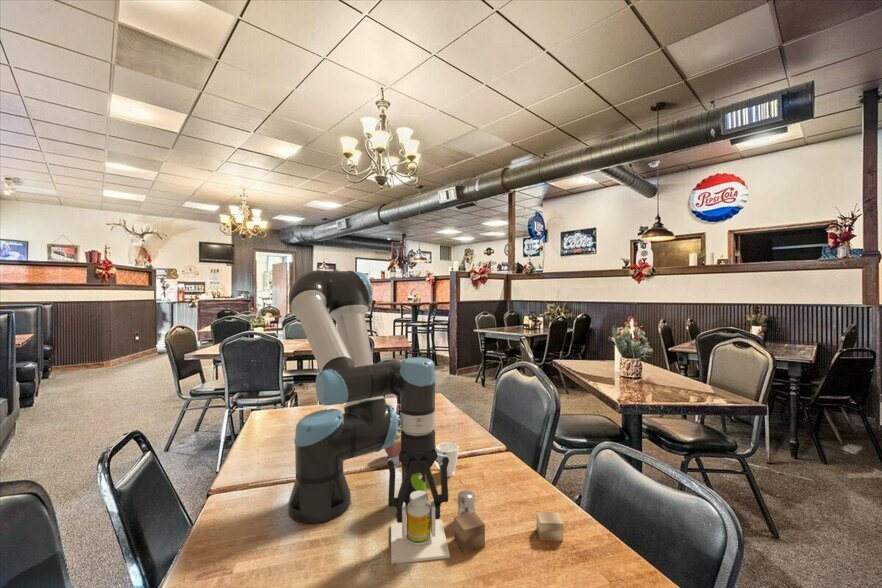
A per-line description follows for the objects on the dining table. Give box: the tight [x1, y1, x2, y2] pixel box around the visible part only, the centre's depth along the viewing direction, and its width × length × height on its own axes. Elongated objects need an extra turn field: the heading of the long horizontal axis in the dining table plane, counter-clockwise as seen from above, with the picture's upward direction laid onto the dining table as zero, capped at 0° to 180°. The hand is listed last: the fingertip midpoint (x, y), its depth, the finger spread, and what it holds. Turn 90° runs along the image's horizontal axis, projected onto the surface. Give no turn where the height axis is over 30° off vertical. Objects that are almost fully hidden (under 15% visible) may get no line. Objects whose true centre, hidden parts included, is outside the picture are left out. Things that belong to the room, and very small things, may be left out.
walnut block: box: [453, 511, 486, 554], centre depth 82 cm, size 5×5×5 cm
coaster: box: [390, 518, 451, 565], centre depth 82 cm, size 12×12×1 cm
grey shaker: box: [457, 490, 476, 516], centre depth 90 cm, size 4×4×6 cm
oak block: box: [536, 511, 564, 542], centre depth 84 cm, size 5×4×4 cm
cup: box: [433, 441, 460, 478], centre depth 113 cm, size 7×10×8 cm
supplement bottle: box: [406, 491, 431, 545], centre depth 82 cm, size 5×5×10 cm
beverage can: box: [401, 464, 427, 505], centre depth 98 cm, size 6×6×15 cm
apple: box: [384, 432, 401, 458], centre depth 122 cm, size 8×8×8 cm
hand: (418, 533), depth 82 cm, fingers open, 6 cm apart
